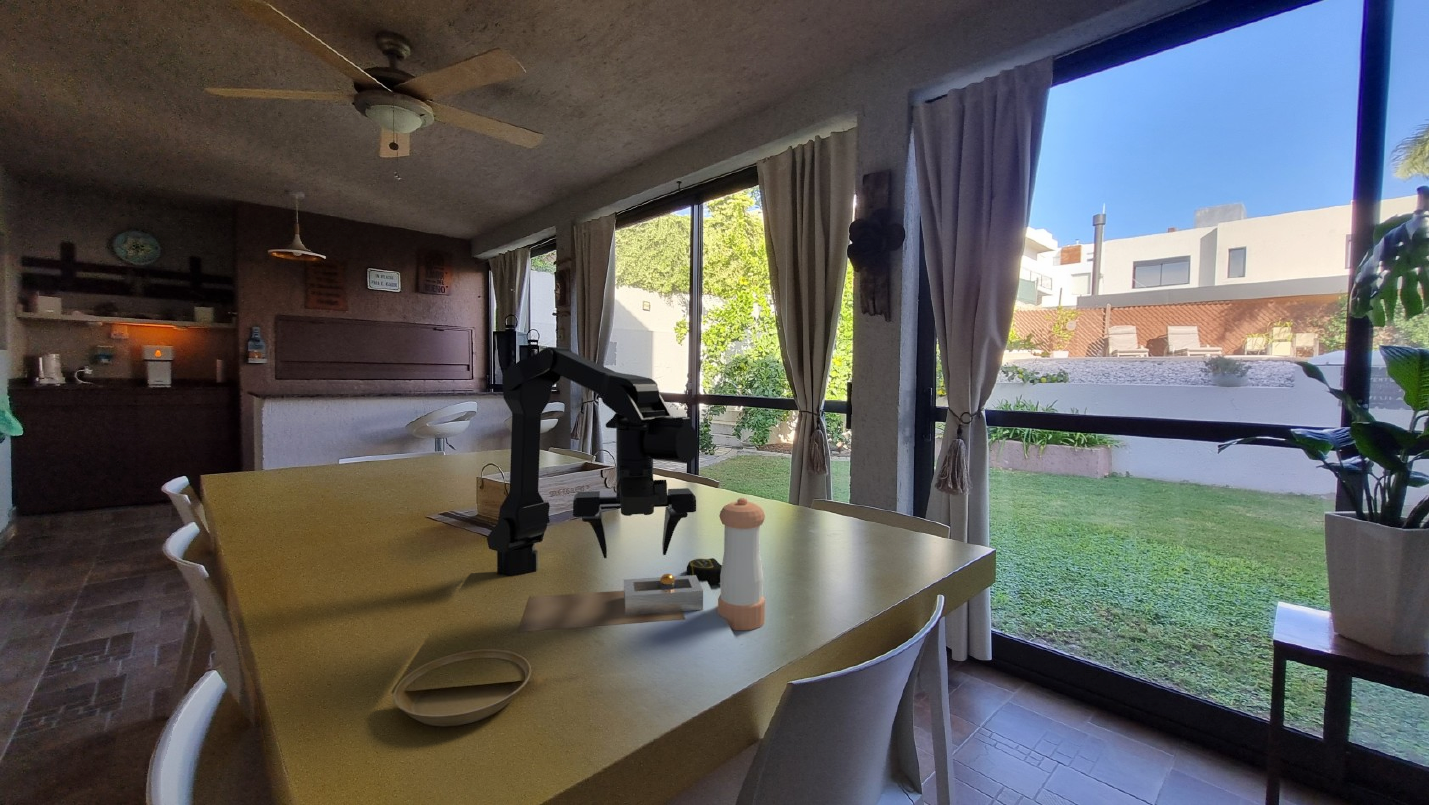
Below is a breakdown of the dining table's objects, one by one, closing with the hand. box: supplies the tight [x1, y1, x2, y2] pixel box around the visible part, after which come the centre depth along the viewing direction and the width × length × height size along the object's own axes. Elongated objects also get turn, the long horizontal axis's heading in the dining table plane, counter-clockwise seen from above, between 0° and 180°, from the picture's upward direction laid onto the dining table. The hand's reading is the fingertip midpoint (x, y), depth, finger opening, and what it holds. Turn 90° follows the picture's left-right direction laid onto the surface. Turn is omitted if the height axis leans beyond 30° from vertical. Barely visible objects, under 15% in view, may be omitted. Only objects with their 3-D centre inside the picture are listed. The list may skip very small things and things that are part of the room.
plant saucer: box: [393, 649, 532, 727], centre depth 67 cm, size 15×15×3 cm
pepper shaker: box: [717, 497, 766, 631], centre depth 89 cm, size 7×7×19 cm
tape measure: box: [685, 557, 722, 587], centre depth 105 cm, size 7×7×4 cm
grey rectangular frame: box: [623, 575, 704, 615], centre depth 91 cm, size 12×7×3 cm, turn 101°
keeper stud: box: [660, 573, 675, 590], centre depth 92 cm, size 2×2×5 cm
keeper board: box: [517, 590, 686, 633], centre depth 90 cm, size 24×13×2 cm, turn 101°
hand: (635, 556), depth 90 cm, fingers open, 9 cm apart
